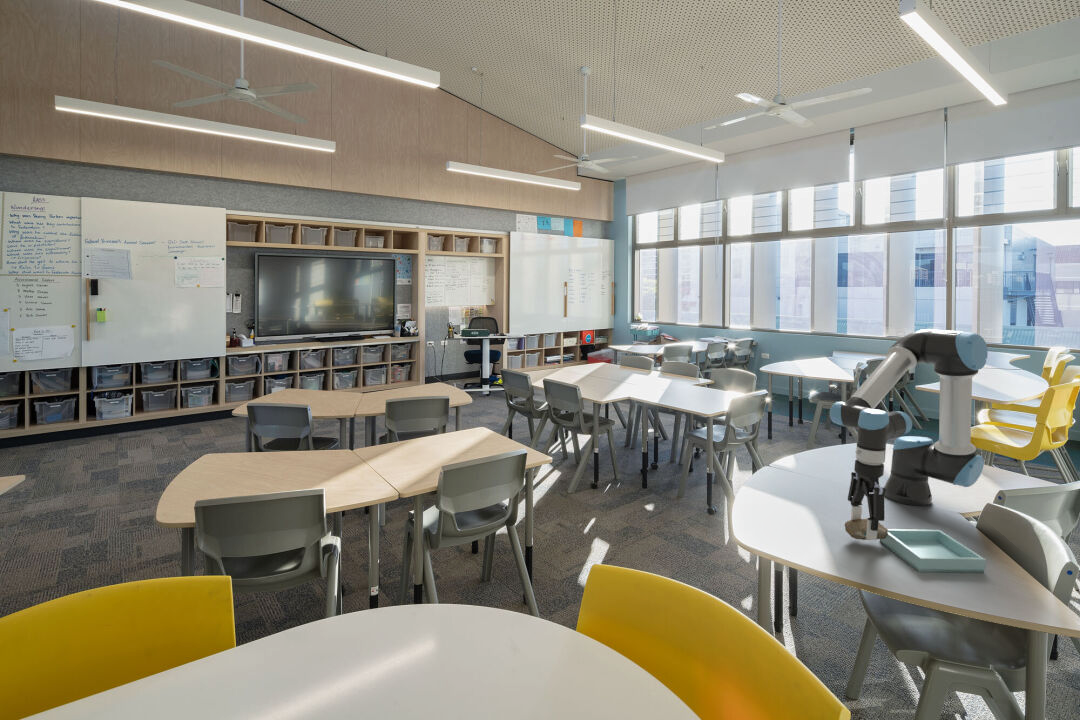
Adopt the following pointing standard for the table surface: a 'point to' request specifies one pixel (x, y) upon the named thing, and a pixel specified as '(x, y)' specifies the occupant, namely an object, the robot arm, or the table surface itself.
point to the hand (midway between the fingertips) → (863, 532)
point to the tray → (933, 551)
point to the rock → (863, 529)
